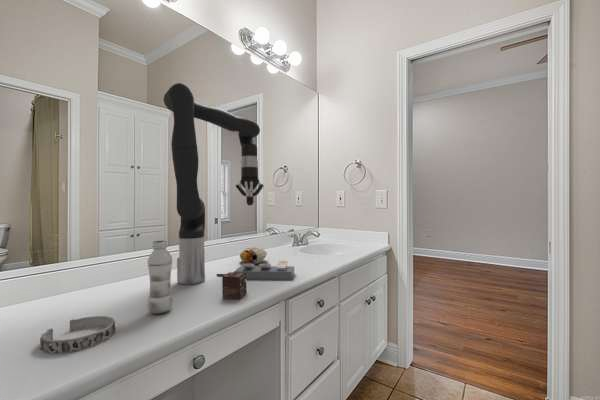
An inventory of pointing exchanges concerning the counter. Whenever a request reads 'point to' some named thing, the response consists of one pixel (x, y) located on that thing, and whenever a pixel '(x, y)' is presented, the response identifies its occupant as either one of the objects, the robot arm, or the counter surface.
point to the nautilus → (253, 255)
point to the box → (234, 285)
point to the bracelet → (82, 342)
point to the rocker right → (281, 265)
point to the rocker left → (248, 265)
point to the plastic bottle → (160, 278)
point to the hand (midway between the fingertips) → (250, 205)
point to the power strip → (266, 273)
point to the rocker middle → (265, 265)
